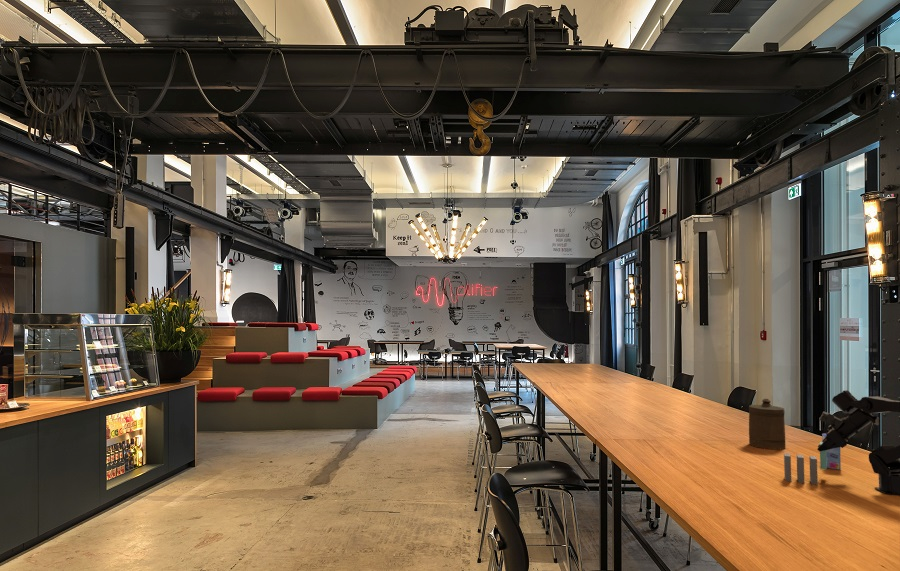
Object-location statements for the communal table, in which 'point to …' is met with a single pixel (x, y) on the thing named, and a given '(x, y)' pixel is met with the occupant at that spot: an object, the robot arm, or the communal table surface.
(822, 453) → the domino
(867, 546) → the communal table surface
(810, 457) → the domino
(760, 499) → the communal table surface
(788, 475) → the domino end
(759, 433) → the wooden container
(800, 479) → the domino
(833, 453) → the ink cartridge box
